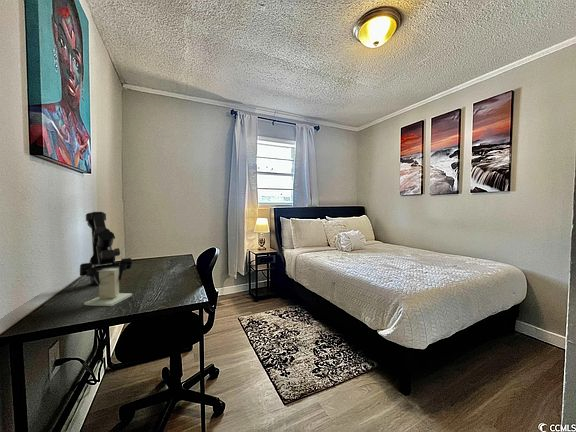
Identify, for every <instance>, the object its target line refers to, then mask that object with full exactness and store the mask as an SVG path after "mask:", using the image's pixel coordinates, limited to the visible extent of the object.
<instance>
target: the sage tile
mask: <svg viewBox="0 0 576 432" xmlns="http://www.w3.org/2000/svg"><path fill="white" fill-rule="evenodd" d="M132 296H133V293H128V292H127V293H124V292H119V295H117V296H116V297H114V298H99V296H97V297H95V298H93V299H90V300H88V301H85V302H83V304H84V306H95V307H96V306H101V307H106V306H107V307H112V306H114V305H116V304H118V303H120V302H122V301H124V300H126V299H129V297H132Z"/></svg>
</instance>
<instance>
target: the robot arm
mask: <svg viewBox="0 0 576 432" xmlns="http://www.w3.org/2000/svg"><path fill="white" fill-rule="evenodd" d="M106 220H107V213H105V211H104V212H103V211H91V212H88V213H86V214H85V222H87V223H86V224H87V226H88V227H89V228H90V230H91V239H92V240H91V241H92V242H91V243H92V255H91V257H90V259H89V262H84V263H81V264H80V265H79V276H81V277H82V276H86V277H90V282H89V283H87V285H88V286H99V284H100V282H99V271H100V270H102V269H109V268H119V282H121V280H122V276H123V272H125V271H126V270H130V269H131V268H132V265H133V259H132V258H131V257H127V258H125V257H124V258H121V259H120V261H119V262H118V261H117V262H115V261H116V257H119V256H120V255H121V249H120V247H119V248H114V249H113V248H112V247H113V243H114V240H115V239H116V236H115V233H113V231H111V230H110V229H109V228H107V226H106Z"/></svg>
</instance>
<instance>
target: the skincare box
mask: <svg viewBox="0 0 576 432" xmlns="http://www.w3.org/2000/svg"><path fill="white" fill-rule="evenodd" d="M99 282H100V284H99V285H98V297H99V298H114V297H116V296H117V295H119V293H120V281H119V267H113V268H109V269H102V270H100V271H99Z"/></svg>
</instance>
